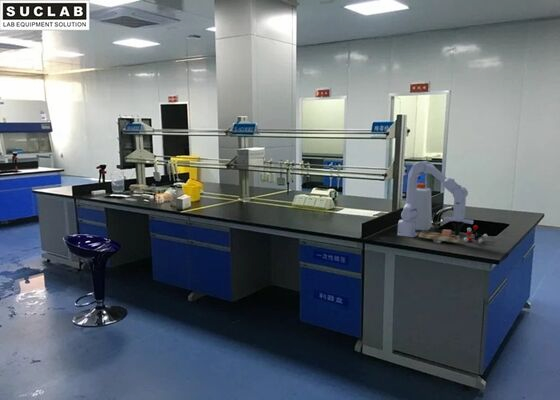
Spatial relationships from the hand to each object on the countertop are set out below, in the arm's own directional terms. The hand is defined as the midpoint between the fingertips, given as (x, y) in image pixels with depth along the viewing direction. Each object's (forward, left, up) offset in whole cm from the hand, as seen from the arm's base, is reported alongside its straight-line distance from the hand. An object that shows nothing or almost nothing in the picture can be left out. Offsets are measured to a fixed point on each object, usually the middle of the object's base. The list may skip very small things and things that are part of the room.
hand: (457, 235), depth 229 cm
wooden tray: (-9, 0, -5) cm, 11 cm away
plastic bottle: (-29, +25, -5) cm, 39 cm away
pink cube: (-5, 0, -2) cm, 6 cm away
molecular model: (+7, +11, -5) cm, 14 cm away
